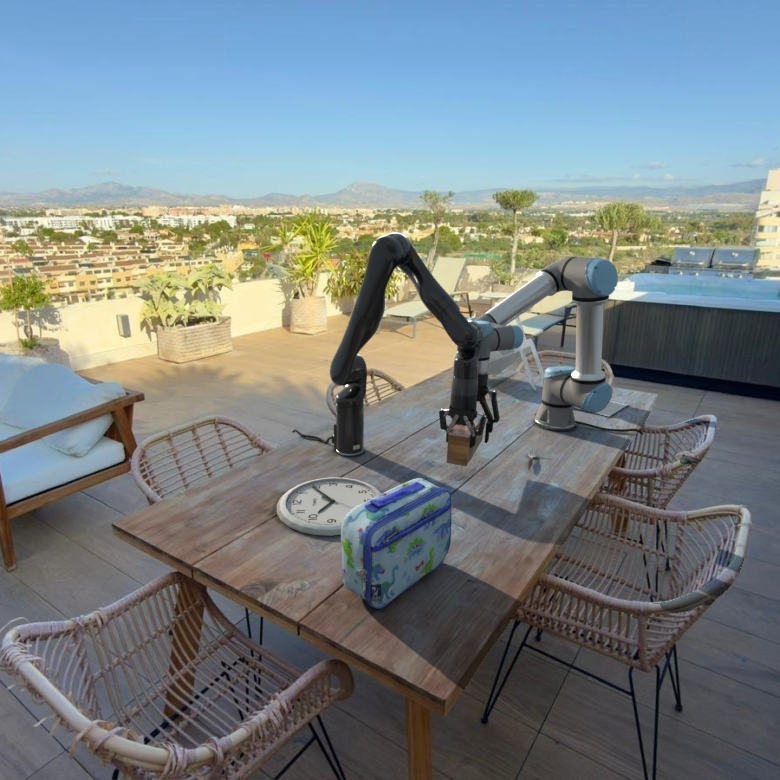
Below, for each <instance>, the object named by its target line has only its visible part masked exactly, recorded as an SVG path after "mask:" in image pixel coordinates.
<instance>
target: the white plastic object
mask: <svg viewBox="0 0 780 780" xmlns="http://www.w3.org/2000/svg"><path fill="white" fill-rule="evenodd" d="M514 320H515V322H516V325H517V326H519V327H520V328H521V329H522V331H523V335H524V337H523V343H522V345H521V346H520V347H519V348H516V349H512V350H501V351H492V352H490V360H489V371H488V372H487V373H488V376H493V377H495V376H498V375H502V374H503V371H504V370H505V369H507V368H509V367H510V366H511V365H512V364H515V362H517V361H518V360H520V359H521V361H522V364H523V367H524V370H525V373H526V377H527V379H528V382H529V384H530V387H532V389H533V390H534V391H537V390H536V389H537V387H536V383H535V380H534V376H533V373H532V370H531V368H530V365H529V362H528V358H527V355H528V354H531V353H532V355H533V357H534V362H535V364H536V367H537V371H538V374H539V376H540V379H541V382H542V383H543V378H544V375H545V370H544V369H543V366H542V362H541V360H540V356H539V355H538V351H537V347H536V344H535V343H534V341H533V339H532V338H530V337H529V338H527V337H526V334H525V331H524V327H523V325H522V322H521V318H520V316H518V317H517V318H516V319H514Z"/></svg>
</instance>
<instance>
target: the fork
mask: <svg viewBox="0 0 780 780" xmlns="http://www.w3.org/2000/svg"><path fill="white" fill-rule="evenodd" d="M537 454H538V448H536V447H531V446H530V447H529V451H528V457H529V458H530V459H529V460H528V463H527V464H528V467H527V468H528V469H527V470H528V471H530V469H531V467H532V465H533V458H537V456H538V455H537Z"/></svg>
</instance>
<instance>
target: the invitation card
mask: <svg viewBox="0 0 780 780" xmlns="http://www.w3.org/2000/svg"><path fill="white" fill-rule="evenodd" d="M628 406H629V404H627V403H623V402H618V401H614V400H610V402H609V404H608V405H607V406H606V407H605V408H604V409H603V410H602V411H600V412H597V413H595V414H596V415H600V416H604V417H608V418H609V417H611V416H613V415H614V414H616V413H617V412H619V411H621V410H623V409H624V408H626V407H628ZM573 409H575V410H581V411H583V410H582V409H580V408H577V407H575V406H573Z"/></svg>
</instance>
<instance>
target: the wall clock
mask: <svg viewBox="0 0 780 780" xmlns="http://www.w3.org/2000/svg"><path fill="white" fill-rule="evenodd" d="M382 493H383V492H382V491H381V490H380V489H379V488H377V487H376V486H374V485H372V484H371V483H369V482H365V481H362V480H359V479H355V478H349V477H338V476H337V477H335V476H333V477H332V476H331V477H322V478H317V479H312V480H307V481H305V482H302V483H299V484H297V485H295V486H293V487H292V488H290V489H288V490H287V491H286V492H285V493H284V494H283V495H281V496H280V498H279V499H278V502H277V503H276V515H277V517H278V518H279V520H280V521H281V522H282V523H283V524H285V525H286V526H287V527H288V528H290V529H293V530H295V531H297V532H299V533H303V534H308V535H312V536H327V537H328V536H329V537H331V536H332V537H333V536H341V528H342V523H343V520H344V518H345V517H346V515H347V514H348V512H349V511H350V510H351V509H353V508H354V507H356V506H358V505H360V504H362V503H364V502H366V501H368V500H370V499H372V498H374V497H376V496H378V495H380V494H382Z"/></svg>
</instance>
